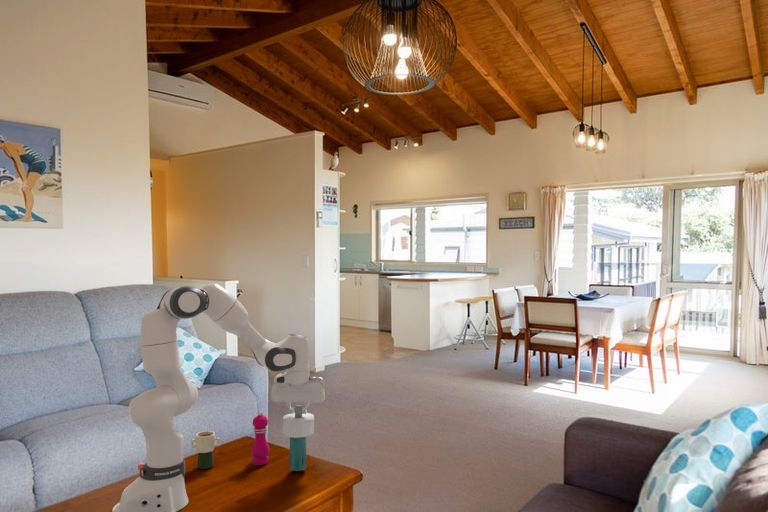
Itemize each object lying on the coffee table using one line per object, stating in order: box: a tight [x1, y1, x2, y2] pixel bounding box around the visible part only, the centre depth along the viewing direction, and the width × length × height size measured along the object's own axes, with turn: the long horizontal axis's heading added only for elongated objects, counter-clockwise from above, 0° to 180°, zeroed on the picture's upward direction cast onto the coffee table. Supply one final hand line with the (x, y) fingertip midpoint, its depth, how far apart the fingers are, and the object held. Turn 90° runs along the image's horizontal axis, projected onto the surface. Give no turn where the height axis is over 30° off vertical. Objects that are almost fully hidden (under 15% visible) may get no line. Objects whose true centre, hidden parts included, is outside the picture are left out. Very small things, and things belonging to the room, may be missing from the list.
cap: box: [282, 404, 315, 438], centre depth 195 cm, size 12×12×10 cm
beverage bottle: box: [288, 436, 308, 472], centre depth 196 cm, size 6×7×20 cm
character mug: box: [190, 430, 221, 470], centre depth 200 cm, size 11×7×13 cm, turn 100°
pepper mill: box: [250, 410, 271, 466], centre depth 205 cm, size 7×7×20 cm
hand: (297, 413), depth 196 cm, fingers open, 3 cm apart
